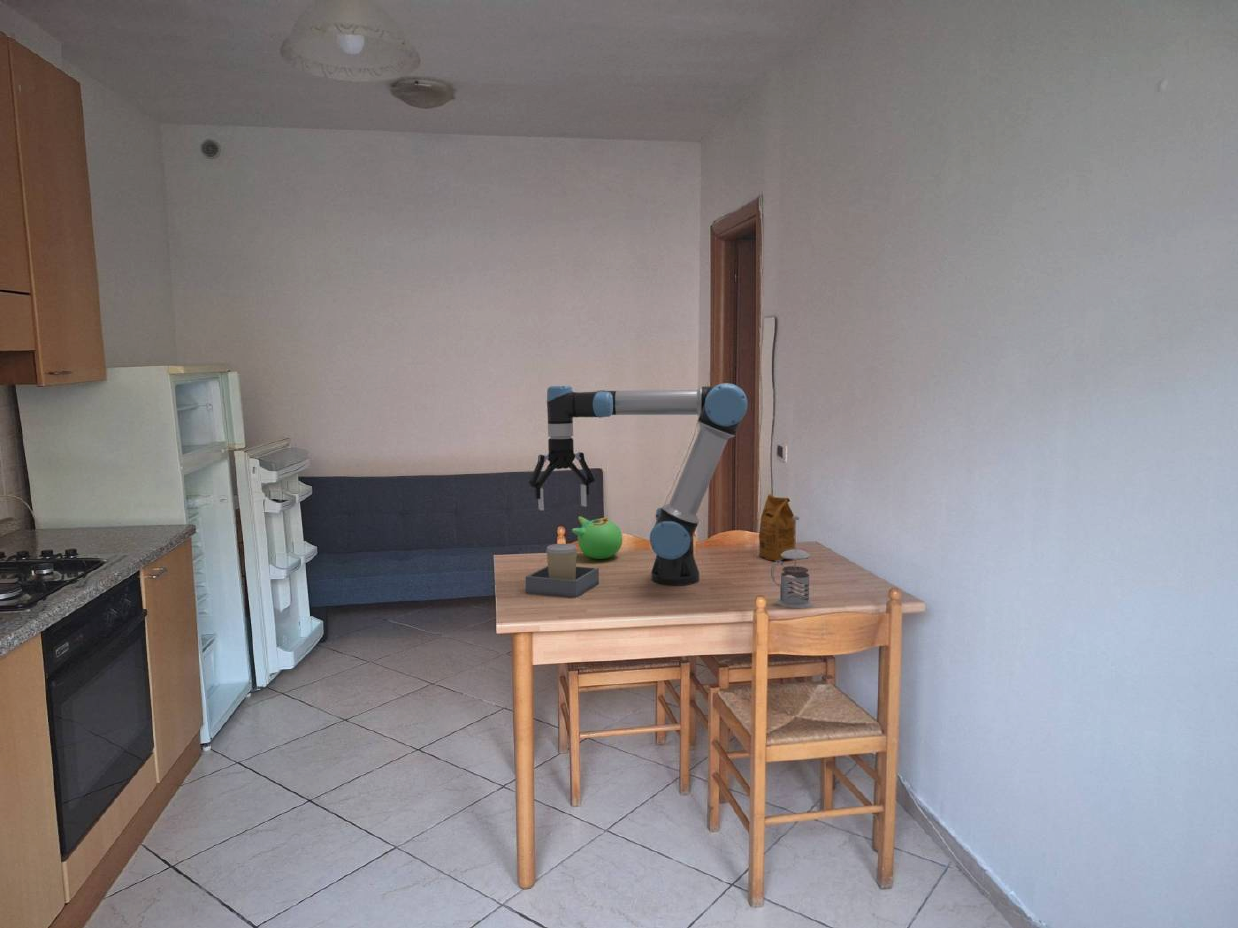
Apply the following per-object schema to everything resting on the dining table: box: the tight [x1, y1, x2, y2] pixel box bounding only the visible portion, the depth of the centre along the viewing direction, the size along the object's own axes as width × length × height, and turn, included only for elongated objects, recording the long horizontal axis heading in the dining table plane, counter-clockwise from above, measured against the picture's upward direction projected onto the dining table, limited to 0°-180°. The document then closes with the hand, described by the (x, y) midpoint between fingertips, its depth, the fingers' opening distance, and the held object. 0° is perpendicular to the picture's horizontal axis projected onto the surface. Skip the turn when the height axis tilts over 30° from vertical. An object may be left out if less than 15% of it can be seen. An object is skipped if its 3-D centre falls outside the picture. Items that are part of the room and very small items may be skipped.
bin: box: [525, 565, 600, 598], centre depth 246 cm, size 17×17×5 cm
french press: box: [770, 514, 814, 609], centre depth 226 cm, size 10×12×25 cm
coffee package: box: [758, 493, 795, 562], centre depth 281 cm, size 10×12×22 cm
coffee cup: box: [545, 543, 578, 580], centre depth 245 cm, size 9×9×12 cm
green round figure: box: [571, 516, 623, 560], centre depth 285 cm, size 18×17×15 cm
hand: (562, 507), depth 243 cm, fingers open, 13 cm apart
